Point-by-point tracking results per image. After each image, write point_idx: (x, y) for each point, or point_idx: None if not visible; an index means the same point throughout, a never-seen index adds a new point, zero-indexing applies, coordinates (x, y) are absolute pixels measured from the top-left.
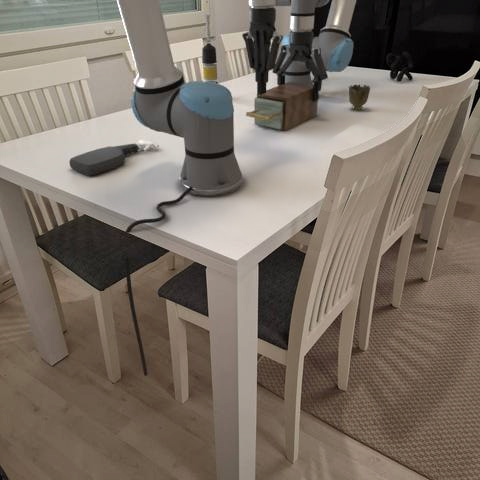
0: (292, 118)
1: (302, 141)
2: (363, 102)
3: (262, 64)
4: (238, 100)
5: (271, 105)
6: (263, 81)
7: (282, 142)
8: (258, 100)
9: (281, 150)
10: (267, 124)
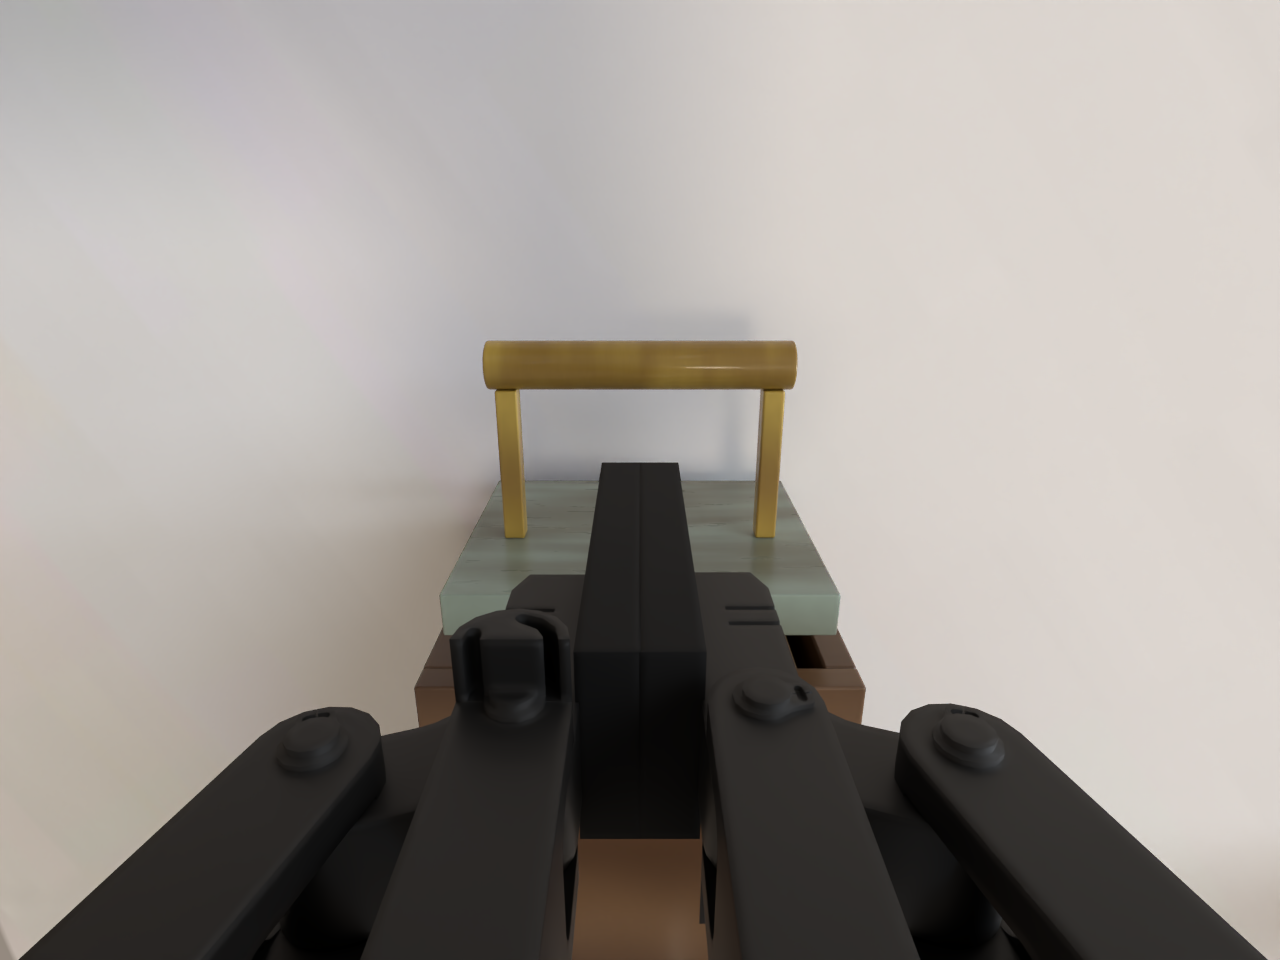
0: None
1: (213, 390)
2: None
3: (516, 822)
4: (1259, 924)
5: (581, 572)
6: (566, 589)
7: (320, 267)
8: (773, 586)
9: (181, 73)
10: None
